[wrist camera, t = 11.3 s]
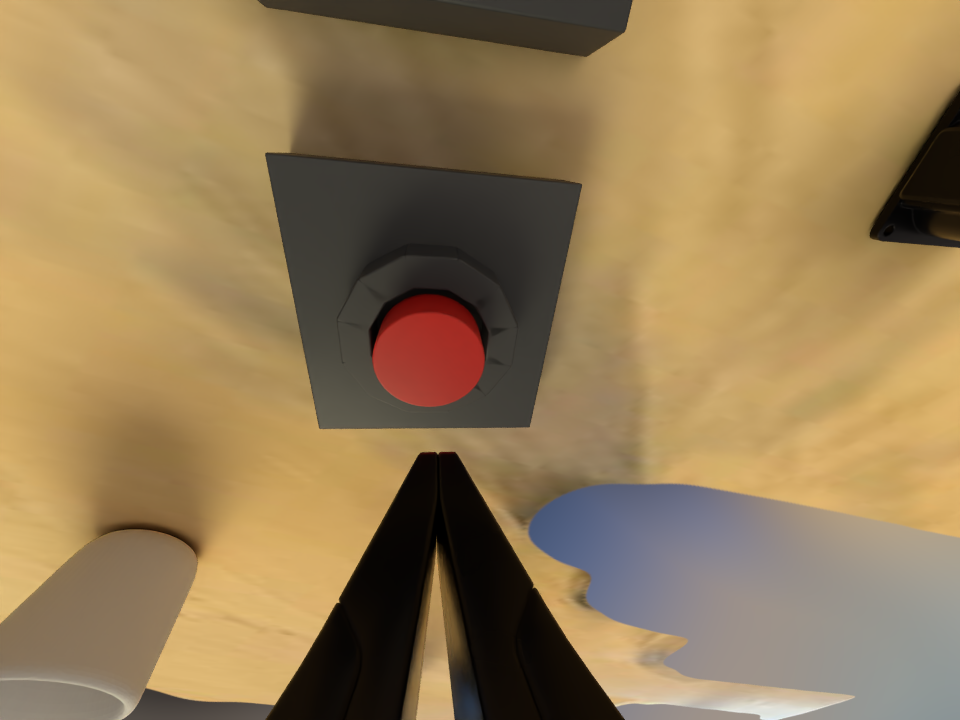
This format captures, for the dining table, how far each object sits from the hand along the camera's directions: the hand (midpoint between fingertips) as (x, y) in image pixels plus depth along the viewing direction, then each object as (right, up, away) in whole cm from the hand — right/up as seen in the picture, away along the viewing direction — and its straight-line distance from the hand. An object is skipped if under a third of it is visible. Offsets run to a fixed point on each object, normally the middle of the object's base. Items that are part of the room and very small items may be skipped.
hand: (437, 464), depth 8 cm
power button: (-1, +3, +6) cm, 7 cm away
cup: (-23, -12, +16) cm, 30 cm away
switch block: (-1, +5, +9) cm, 10 cm away
